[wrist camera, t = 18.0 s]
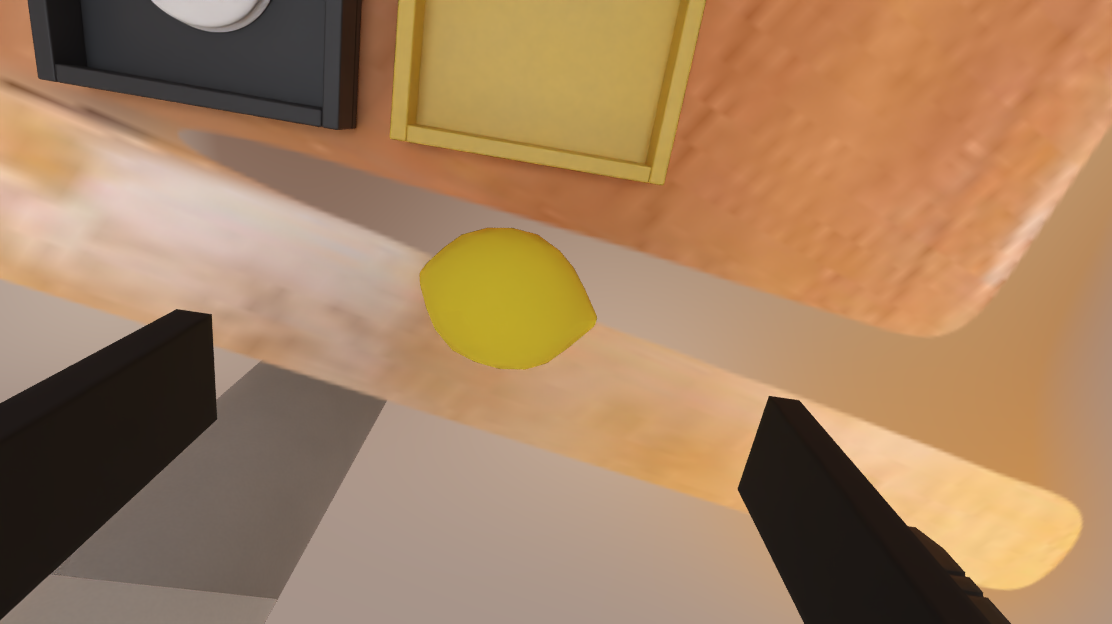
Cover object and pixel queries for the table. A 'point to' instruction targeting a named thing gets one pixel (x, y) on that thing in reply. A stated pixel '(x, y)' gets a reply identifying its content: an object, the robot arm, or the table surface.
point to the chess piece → (214, 13)
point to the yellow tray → (547, 80)
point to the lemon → (505, 298)
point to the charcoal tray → (209, 56)
